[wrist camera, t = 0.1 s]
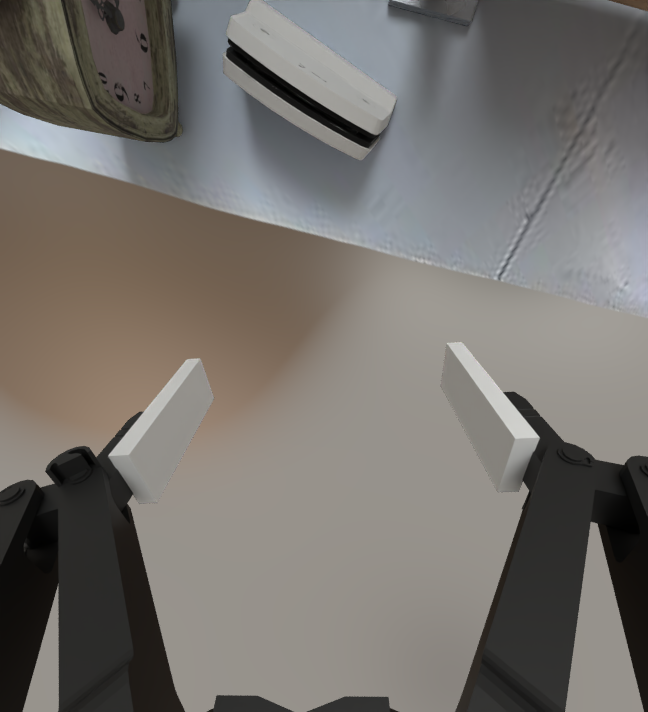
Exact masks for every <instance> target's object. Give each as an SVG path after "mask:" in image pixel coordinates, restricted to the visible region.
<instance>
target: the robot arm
mask: <svg viewBox="0 0 648 712" xmlns="http://www.w3.org/2000/svg"><path fill="white" fill-rule="evenodd" d="M441 388H442V390H443V392H444V393H445V395H446V397H447V399H448V401H449V403H450V405H451V406H452V408H453V410H454V412H455V414H456V416H457V417H458V420H459V421H460V423H461V425H462V427H463V429H464V431H465V432H466V434H467V436H468V438H469V440H470V442H471V444H472V445H473V448H474V449H475V451H476V453H477V455H478V457H479V459H480V461H481V462H482V464H483V466H484V468H485V470H486V472H487V473H488V476H489V477H490V479H491V481H492V483H493V484H494V487H495V489H496V490H497V492H519V490H520V487H521V485H522V482H523V481H524V483H525V484H526V486H527V488H528V489H529V493H528V495H527V498H526V500H525V503H524V505H523V507H522V509H523V511H522V514H521V517H520V520H519V523H518V526H517V529H516V532H515V535H514V538H513V541H512V544H511V547H510V550H509V553H508V556H507V559H506V562H505V565H504V569H503V571H502V574H501V578H500V580H499V583H498V586H497V590H496V592H495V596H494V599H493V602H492V605H491V608H490V611H489V614H488V617H487V620H486V623H485V627H484V629H483V632H482V635H481V638H480V641H479V644H478V647H477V650H476V653H475V656H474V659H473V663H472V665H471V668H470V672H469V674H468V678H467V681H466V684H465V687H464V690H463V693H462V695H461V698H460V701H459V703H458V706H457V709H456V711H455V712H565V707H566V700H567V692H568V684H569V678H570V670H571V663H572V656H573V648H574V641H575V633H576V626H577V618H578V611H579V604H580V596H581V589H582V581H583V574H584V567H585V559H586V552H587V544H588V537H589V529H590V522H595V523H598V527H599V531H600V535H601V539H602V543H603V547H604V551H605V556H606V560H607V564H608V567H609V572H610V575H611V580H612V584H613V587H614V592H615V596H616V600H617V604H618V608H619V612H620V616H621V620H622V624H623V628H624V632H625V636H626V640H627V644H628V648H629V652H630V656H631V660H632V664H633V668H634V673H635V677H636V680H637V684H638V689H639V693H640V697H641V701H642V705H643V709H644V712H648V457H644V456H633V457H630V458H629V459H628V460H627V462H626V463H625V465H620V464H615V463H609V462H604V461H599V460H595V459H594V458H593V456H592V455H591V454H589V453H588V452H587V451H585V450H584V449H582V448H580V447H578V446H576V445H573V444H569V443H566V442H564V441H563V440H562V439H561V438H560V437H559V436H558V435H557V434H556V432H555V431H554V430H553V429H552V428H551V427H550V426H549V424H547V422H546V421H545V420H544V419H543V418H542V417H540V415H539V413H538V412H537V411H536V410H534V409H533V407H532V406H531V404H530V403H529V402H528V401H527V400H526V399H525V398H523V397H522V396H520V395H518V394H517V393H515V392H502V391H501V389H500V388H499V387H498V386H497V385H496V383H495V382H494V381H493V380H492V378H491V377H490V376H489V375H488V373H487V372H486V371H485V370H484V369H483V367H482V366H481V365H480V364H479V362H478V361H477V360H476V359H475V358H474V356H473V355H472V354H471V353H470V351H469V350H468V349H467V348H466V347H465V345H464V344H463V343H462V342H456V343H447V345H446V352H445V359H444V366H443V373H442V380H441ZM213 400H214V396H213V394H212V391H211V388H210V385H209V382H208V379H207V376H206V373H205V370H204V367H203V364H202V361H201V359H200V358H199V359H187V360H186V361H185V362H184V364H183V365H182V366H181V367H180V369H179V370H178V371H177V372H176V373H175V375H174V376H173V377H172V378H171V380H170V381H169V382H168V383H167V384H166V386H165V387H164V388H163V389H162V390H161V392H160V393H159V394H158V395H157V396H156V398H155V399H154V400H153V401H152V403H151V404H150V405H149V406H148V408H147V409H146V410H145V411H144V412H139V413H137V414H136V415H135V416H133V417H132V418H130V419H129V420H128V421H127V422H126V423H125V425H124V426H123V427H122V428H121V430H119V432H118V433H117V434H116V435H115V437H114V438H113V439H112V440H111V441H110V442H109V443H108V445H107V446H106V447H105V448H104V449H103V450H102V452H101V453H100V454H99V455H98V456H97V457H95V455H94V454H93V452H92V451H91V450H90V448H89V447H86V446H81V447H75V448H73V449H70V450H67V451H65V452H64V453H62V454H60V455H59V456H58V457H56V458H55V459H53V460H52V461H51V462H50V463H49V465H48V466H47V468H46V471H45V472H46V473H47V474H48V475H49V477H50V478H51V479H52V480H53V481H54V483H55V484H52V485H48V486H45V487H41V488H40V487H39V486H38V485H37V484H36V483H35V482H34V481H33V480H25V481H20V482H18V483H15V484H13V485H11V486H9V487H7V488H6V489H4V490H2V491H1V492H0V712H22V711H23V708H24V704H25V701H26V697H27V693H28V690H29V686H30V683H31V679H32V675H33V672H34V668H35V665H36V661H37V658H38V654H39V651H40V647H41V643H42V640H43V636H44V633H45V629H46V625H47V622H48V618H49V615H50V611H51V608H52V604H53V600H54V597H55V593H56V590H57V586H58V583H59V711H58V712H185V711H184V708H183V706H182V704H181V702H180V700H179V698H178V696H177V693H176V690H175V687H174V684H173V679H172V675H171V671H170V667H169V663H168V659H167V655H166V651H165V647H164V643H163V639H162V635H161V631H160V627H159V623H158V618H157V614H156V611H155V606H154V602H153V598H152V594H151V590H150V585H149V581H148V577H147V573H146V569H145V565H144V561H143V557H142V553H141V549H140V545H139V541H138V537H137V533H136V528H135V524H134V520H133V516H132V512H131V508H130V507H129V505H128V504H127V503H128V501H129V500H130V498H131V496H132V495H134V497H135V498H136V500H137V502H138V503H139V504H145V503H157V502H158V501H159V499H160V497H161V495H162V493H163V491H164V490H165V488H166V486H167V484H168V482H169V480H170V479H171V477H172V475H173V473H174V471H175V470H176V468H177V466H178V464H179V462H180V460H181V459H182V457H183V455H184V453H185V451H186V449H187V447H188V445H189V444H190V442H191V440H192V438H193V436H194V435H195V433H196V431H197V429H198V427H199V425H200V424H201V422H202V420H203V418H204V416H205V414H206V412H207V411H208V409H209V407H210V405H211V403H212V401H213ZM207 712H293V711H291V710H288V709H286V708H284V707H282V706H280V705H277V704H275V703H273V702H270V701H268V700H265V699H264V698H261V697H259V696H224V695H223V696H221V695H218V696H216V701H215V705H214V708H213V709H211V710H209V711H207ZM308 712H398V711H396V710H393V709H391V708H390V707H389V698H388V697H343V698H341V699H338V700H335V701H333V702H330V703H328V704H325V705H323V706H321V707H318V708H315V709H313V710H310V711H308Z"/></svg>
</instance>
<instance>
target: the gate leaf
mask: <svg viewBox="0 0 648 712" xmlns="http://www.w3.org/2000/svg"><path fill="white" fill-rule="evenodd" d="M609 1H613V2H616V3H620V4H623V5H627V6H631V7H634V8H638V9H641V10H645V11H648V0H609Z"/></svg>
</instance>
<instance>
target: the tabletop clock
mask: <svg viewBox="0 0 648 712" xmlns="http://www.w3.org/2000/svg"><path fill="white" fill-rule="evenodd" d="M0 104H2V105H4V106H6V107H8V108H10V109H12V110H14V111H17V112H19V113H21V114H23V115H26V116H30V117H33V118H36V119H39V120H42V121H45V122H49V123H52V124H55V125H58V126H64V127H69V128H75V129H80V130H85V131H91V132H96V133H102V134H107V135H113V136H118V137H123V138H129V139H134V140H140V141H145V142H163V143H164V142H168V141H171V140H172V139H173V138H175V137H179V136H181V134H182V131H183V129H182V125H181V124H180V123H179V122H178V87H177V66H176V51H175V40H174V29H173V19H172V8H171V0H0Z"/></svg>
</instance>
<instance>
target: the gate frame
mask: <svg viewBox="0 0 648 712" xmlns="http://www.w3.org/2000/svg"><path fill="white" fill-rule="evenodd" d="M477 3H478V0H389V3H388V5H390V6H394V7H398V8H401V9H405V10H409V11H413V12H416V13H420V14H424V15H428V16H432V17H435V18H439V19H443V20H447V21H451V22H454V23H458V24H462V25H466V26H468V25H469V24H470V23H471V22H472V19H473V16H474V13H475V9H476V6H477Z"/></svg>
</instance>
